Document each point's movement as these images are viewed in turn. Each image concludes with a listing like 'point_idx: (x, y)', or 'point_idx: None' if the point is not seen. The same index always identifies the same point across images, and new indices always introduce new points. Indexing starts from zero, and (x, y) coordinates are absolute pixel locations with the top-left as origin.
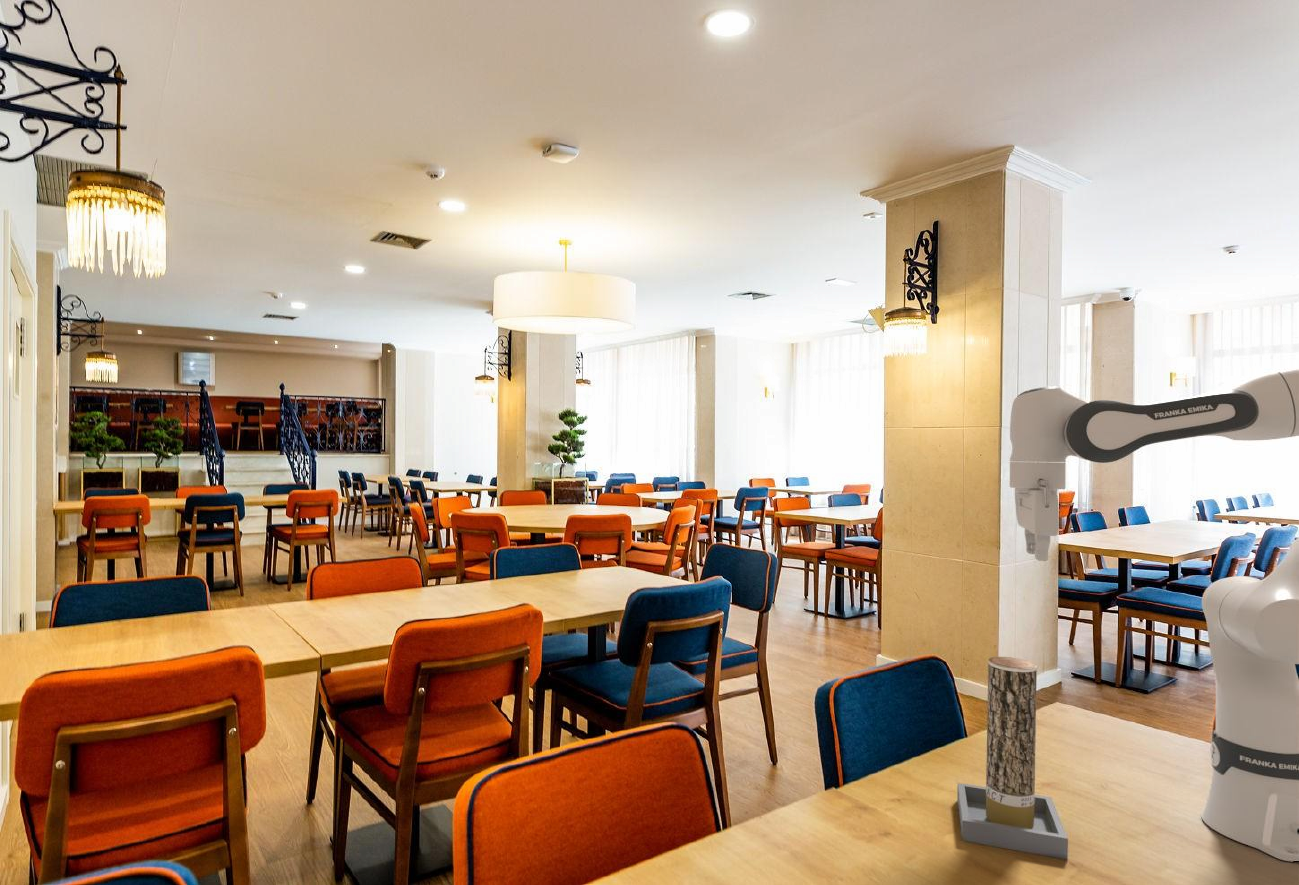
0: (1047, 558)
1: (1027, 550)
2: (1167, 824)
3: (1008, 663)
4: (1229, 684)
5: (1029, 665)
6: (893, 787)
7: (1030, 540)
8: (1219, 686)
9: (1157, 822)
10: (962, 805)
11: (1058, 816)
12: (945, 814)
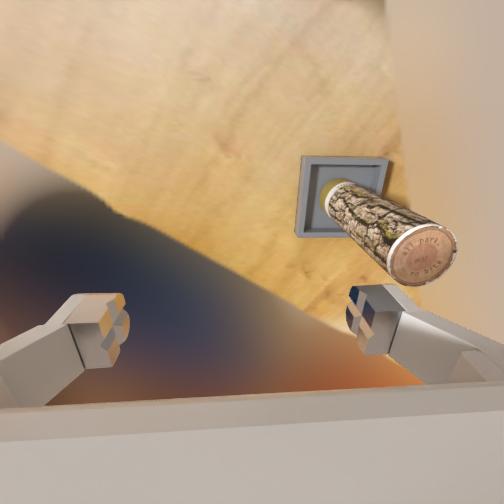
0: (398, 287)
1: (123, 339)
2: (284, 29)
3: (428, 263)
4: None
5: (437, 236)
6: (284, 276)
7: (57, 370)
8: None
9: (282, 40)
10: (344, 236)
11: (347, 158)
12: (322, 241)
